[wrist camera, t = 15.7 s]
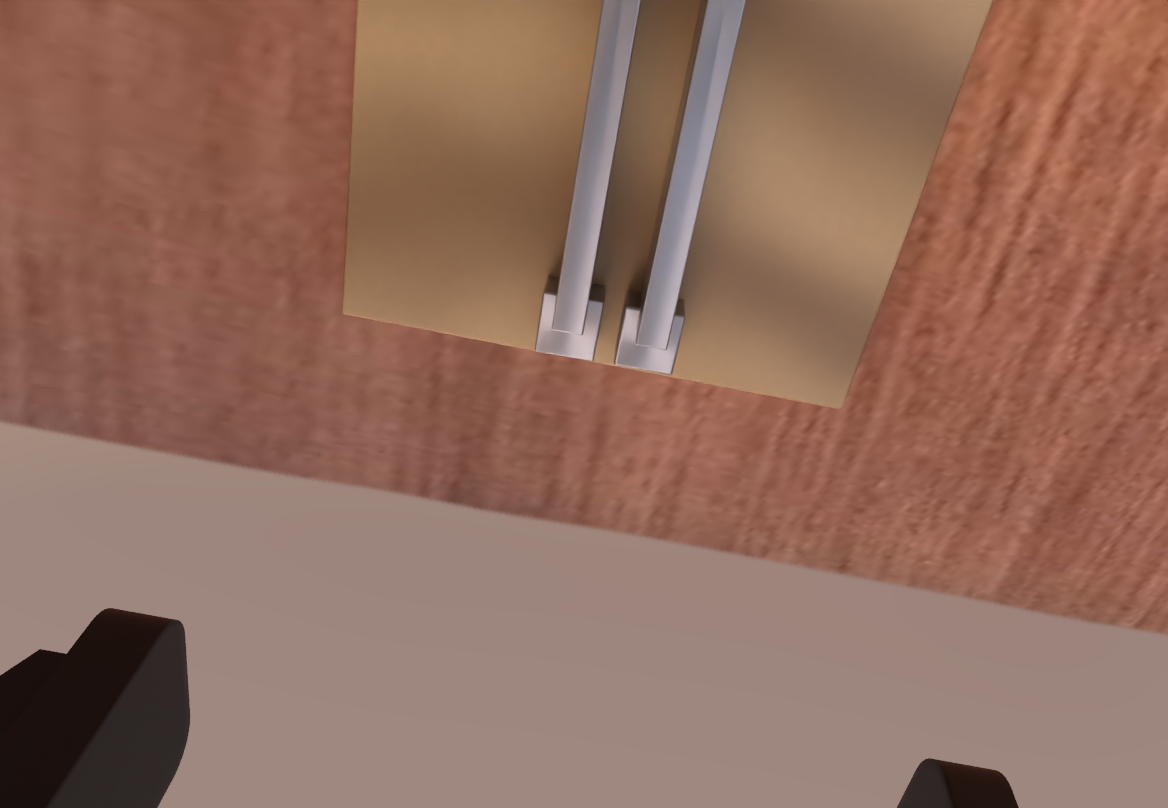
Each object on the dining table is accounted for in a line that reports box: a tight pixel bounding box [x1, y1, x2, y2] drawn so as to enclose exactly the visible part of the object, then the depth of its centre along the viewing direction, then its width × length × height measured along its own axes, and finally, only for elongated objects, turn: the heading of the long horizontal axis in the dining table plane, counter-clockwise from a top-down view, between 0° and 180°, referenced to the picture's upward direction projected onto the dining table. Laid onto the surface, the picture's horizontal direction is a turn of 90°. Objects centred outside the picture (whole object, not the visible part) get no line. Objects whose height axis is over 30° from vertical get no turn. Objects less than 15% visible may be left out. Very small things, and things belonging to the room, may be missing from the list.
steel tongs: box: [535, 0, 746, 375], centre depth 23 cm, size 20×4×2 cm, turn 171°
